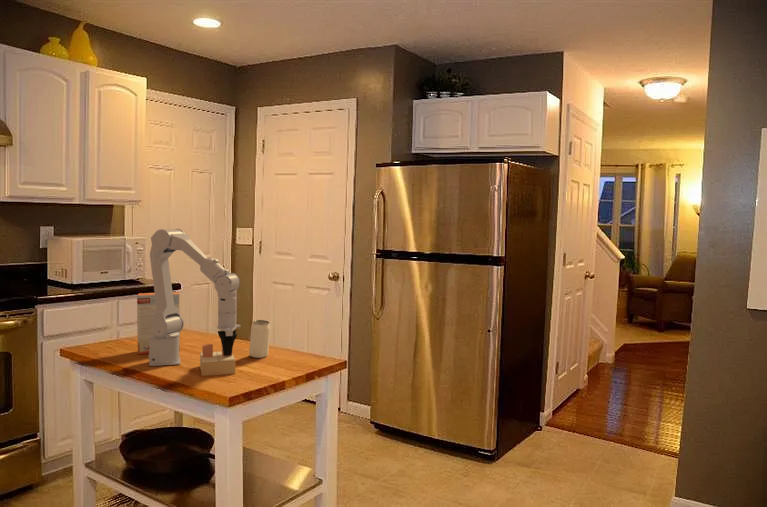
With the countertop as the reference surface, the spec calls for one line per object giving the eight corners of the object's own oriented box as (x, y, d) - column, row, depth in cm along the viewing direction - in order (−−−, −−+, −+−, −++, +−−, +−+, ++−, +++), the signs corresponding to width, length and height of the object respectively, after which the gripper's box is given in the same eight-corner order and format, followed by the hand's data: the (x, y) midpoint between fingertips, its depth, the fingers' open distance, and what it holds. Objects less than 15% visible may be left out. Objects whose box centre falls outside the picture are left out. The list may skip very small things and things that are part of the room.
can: (253, 351, 216) (256, 318, 214) (270, 354, 214) (273, 321, 213) (245, 356, 209) (248, 322, 208) (263, 359, 208) (265, 325, 206)
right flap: (219, 361, 187) (219, 348, 187) (216, 353, 198) (216, 341, 198) (234, 360, 189) (235, 348, 189) (231, 352, 200) (231, 340, 200)
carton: (201, 375, 186) (201, 362, 185) (200, 366, 197) (200, 353, 197) (235, 373, 189) (235, 361, 189) (231, 364, 200) (231, 352, 200)
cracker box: (179, 348, 220) (179, 291, 219) (179, 352, 215) (179, 293, 213) (138, 350, 216) (138, 292, 215) (137, 354, 210) (136, 294, 209)
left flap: (202, 362, 186) (202, 349, 185) (200, 353, 197) (200, 341, 196) (218, 361, 187) (218, 348, 187) (215, 353, 198) (215, 341, 198)
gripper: (242, 315, 187) (242, 358, 188) (237, 307, 201) (237, 348, 202) (219, 316, 185) (218, 360, 186) (215, 308, 199) (215, 349, 200)
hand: (227, 354), depth 194 cm, fingers closed on right flap, 2 cm apart
